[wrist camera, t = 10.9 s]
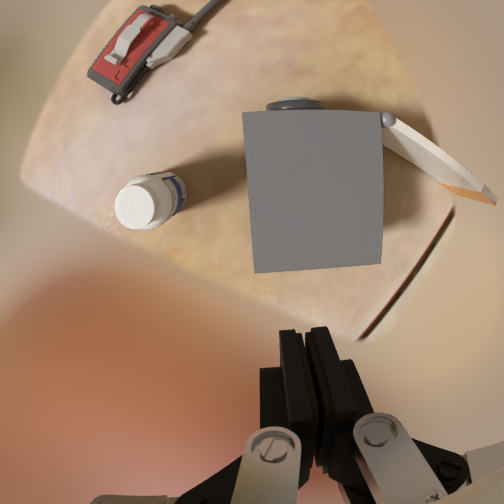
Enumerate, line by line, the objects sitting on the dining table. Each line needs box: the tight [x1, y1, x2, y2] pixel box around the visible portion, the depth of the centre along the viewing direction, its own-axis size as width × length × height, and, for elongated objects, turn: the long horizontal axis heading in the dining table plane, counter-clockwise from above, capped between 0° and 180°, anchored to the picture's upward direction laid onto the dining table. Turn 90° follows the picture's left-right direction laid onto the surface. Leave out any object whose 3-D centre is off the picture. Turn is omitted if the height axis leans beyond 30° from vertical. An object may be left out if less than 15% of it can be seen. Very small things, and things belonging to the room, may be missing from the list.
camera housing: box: [242, 97, 384, 273], centre depth 28 cm, size 16×12×9 cm
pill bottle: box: [115, 172, 187, 229], centre depth 28 cm, size 5×5×10 cm
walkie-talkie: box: [87, 0, 221, 105], centre depth 25 cm, size 9×4×20 cm
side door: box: [380, 112, 498, 206], centre depth 27 cm, size 18×1×9 cm, turn 68°
